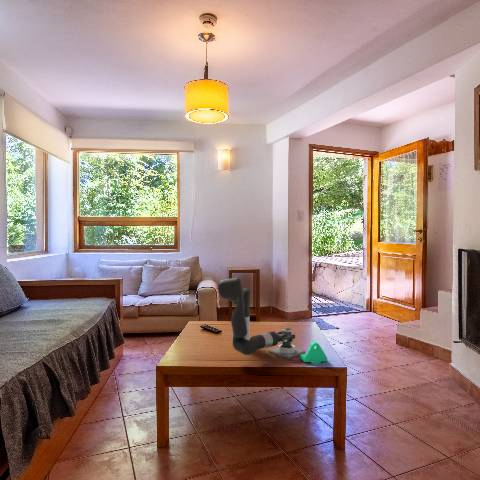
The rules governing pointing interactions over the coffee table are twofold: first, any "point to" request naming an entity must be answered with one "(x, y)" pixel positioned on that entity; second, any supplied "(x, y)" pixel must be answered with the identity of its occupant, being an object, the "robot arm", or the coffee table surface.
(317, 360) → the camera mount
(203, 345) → the coffee table surface
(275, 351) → the mount plate
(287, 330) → the lens
